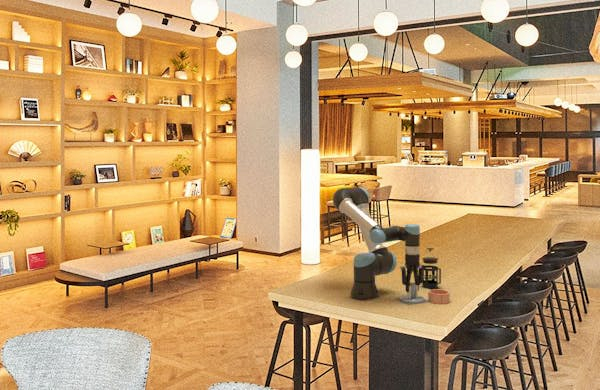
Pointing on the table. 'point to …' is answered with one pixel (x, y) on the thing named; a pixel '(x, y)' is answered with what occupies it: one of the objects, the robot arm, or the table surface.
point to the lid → (412, 296)
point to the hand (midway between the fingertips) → (412, 297)
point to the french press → (430, 283)
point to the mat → (411, 303)
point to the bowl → (439, 296)
